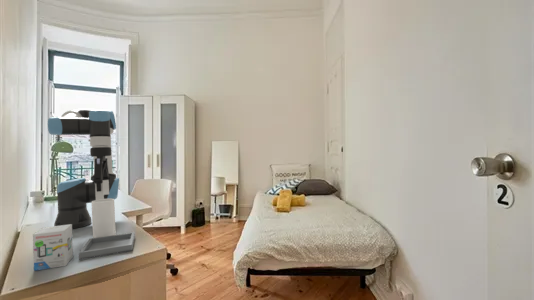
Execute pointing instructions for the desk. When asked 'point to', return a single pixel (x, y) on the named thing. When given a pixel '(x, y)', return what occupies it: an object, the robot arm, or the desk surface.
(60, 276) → the desk surface
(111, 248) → the tray
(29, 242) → the desk surface
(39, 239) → the ink box
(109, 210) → the cup
